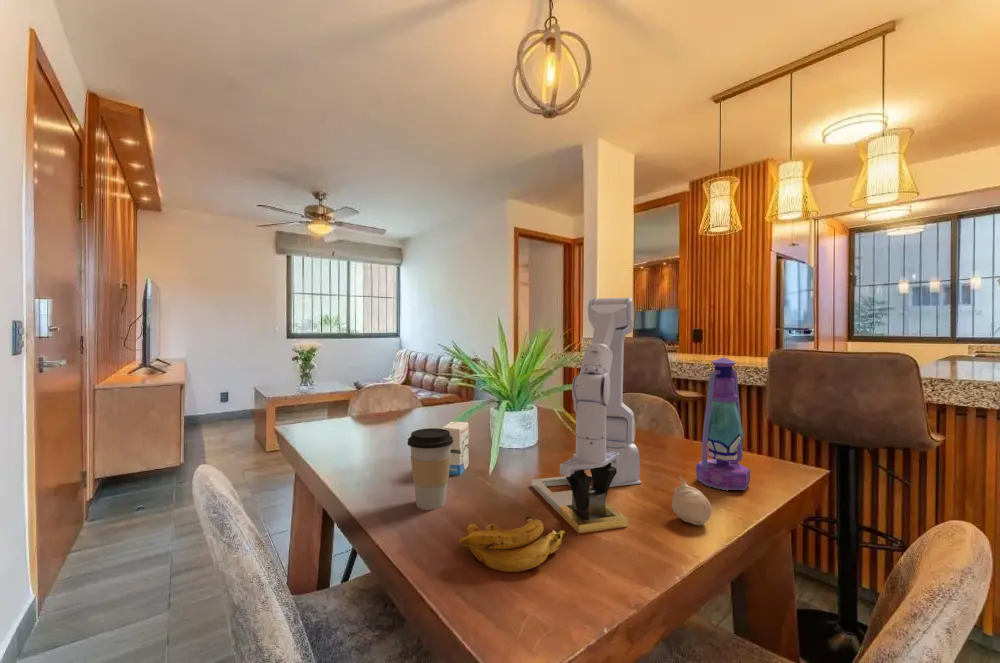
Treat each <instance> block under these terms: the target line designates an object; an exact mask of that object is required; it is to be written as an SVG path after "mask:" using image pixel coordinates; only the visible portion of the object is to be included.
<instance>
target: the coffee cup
mask: <svg viewBox="0 0 1000 663" xmlns="http://www.w3.org/2000/svg"><path fill="white" fill-rule="evenodd" d="M452 443H453V437H452V436H450V432H449V431H448V430H445V429H443V428H437V427H436V428H435V427H434V428H432V427H430V428H420V429H417V430H414V431H411V433H410V437H409V438H408V439H407V445H408V446H409V447H410V462H411V474H412V482H413V487H414V497H415V506H416V507H417V508H418V509H421V510H423V511H434V510H438V509H440V508H443V507H444V506H446V498H447V489H448V482H449V476H450V475H449V468H450V458H451V454H450V451H451V444H452Z"/></svg>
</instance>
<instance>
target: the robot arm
mask: <svg viewBox="0 0 1000 663" xmlns="http://www.w3.org/2000/svg"><path fill="white" fill-rule="evenodd" d="M587 314H588V315H587V316H588V321H589V322H590V325H591V327H592V329H593V334H592V342H591V344H590V345H588V346H587V347H586V349H585V350H584V354H583V358H582V361H581V367H580V370H579V373H578V375H575V376H574V377H573V380H572V385H571V387H572V388H571V394H572V400H573V411H574V412H575V453H574V454H573V455H572V456H573V457H572V458H570V459H568V460H567V461H564V462H563V463H559V475H561V476H562V477H563V476H565V477H566V478H567V480H568V482H569V484H570V486H569V487H570V488H571V490H572V492H573V495H574V499H575V503H576V508H578V509H580V510H582V511H586V509H587V504H588V492H589V487H590V486H591V483H592V487H594V488H596V489H598V490H600V491H603V492H605V493H606V497H607V496H608V492H609V488H613V487H621V486H630V485H639V484H642V480H640V464H641V462H640V459H641V458H640V452H639V449H638V446H636V444H635V443H634V442H635V437H636V422H635V414H634V413H635V412H634V411H633V410H632V409H631V408H630V407H629V406H627V405H626V404H625V403H624V402H623V401H624V400H623V399H624V398H623V396H624V395H623V394H624V393H623V392H624V390H623V389H624V388H623V387H624V353H625V352H624V350H625V348H624V346H625V344H624V343H625V340H626V336H627V335H629V334H631V333H633V331H634V327H635V325H634V324H635V322H634V321H635V303H634V300H633V298H632V297H631V296H627V297H611V298H610V297H607V298H606V297H605V298H603V297H602V298H595V297H591V299H590V300H589V301H588V306H587ZM585 471H589V472H590V474H589V475H590V476H589V475H588V474H587V473H586V472H585Z"/></svg>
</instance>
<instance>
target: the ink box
mask: <svg viewBox="0 0 1000 663" xmlns="http://www.w3.org/2000/svg"><path fill="white" fill-rule="evenodd" d="M442 429H445V430H448V431H449V432H450V436H452V437H453V443H452V444H451V451H450V454H451V458H450V468H449V476H461V475H462V474H463V473H464V472H465V471H466V469H467V468H468V467H469V464H470V463H469V461H470V460H469V459H470V458H469V422H465V421H464V422H463V421H451V422H448V423H447V424H446V425H444V426H443V427H442Z"/></svg>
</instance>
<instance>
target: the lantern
mask: <svg viewBox="0 0 1000 663" xmlns="http://www.w3.org/2000/svg"><path fill="white" fill-rule="evenodd" d="M710 363H711V364H712V365H713V366H714V370H711V371H710V373H709V375H708V376H709V377H708V387H707V397H706V405H705V410H704V411H705V412H704V420H703V427H702V440H701V460H700V461H699V462H698V463H697V464H696V465H695V476H696V480H697V481H698V482H700V483H702V484H703V485H705V486H707V488H711V487H713V488H712V489H716V488H717V490H720V489H722V490H721V491H724V490H726V491H725V492H729V491H728V490H742V491H745V490H746V489H747V488H748V487H749V486H750V482H751V469H750V468H749V467H746V466H744V465H743V464H741V463H740V462H741V461H742V459H743V457H744V456H743V438H744V431H743V426H742V417H741V404H740V397H739V396H740V394H739V381H738V373H737V370H735V369H733V366H734V365H735V364H737V362H736V361H734V360H732V359H730V358H727V357H719V358H717V359H714V360H711V361H710ZM708 446H709V448H708ZM708 452H709V453H708ZM708 457H709V458H711V459H709V458H708ZM747 486H748V487H747Z"/></svg>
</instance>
